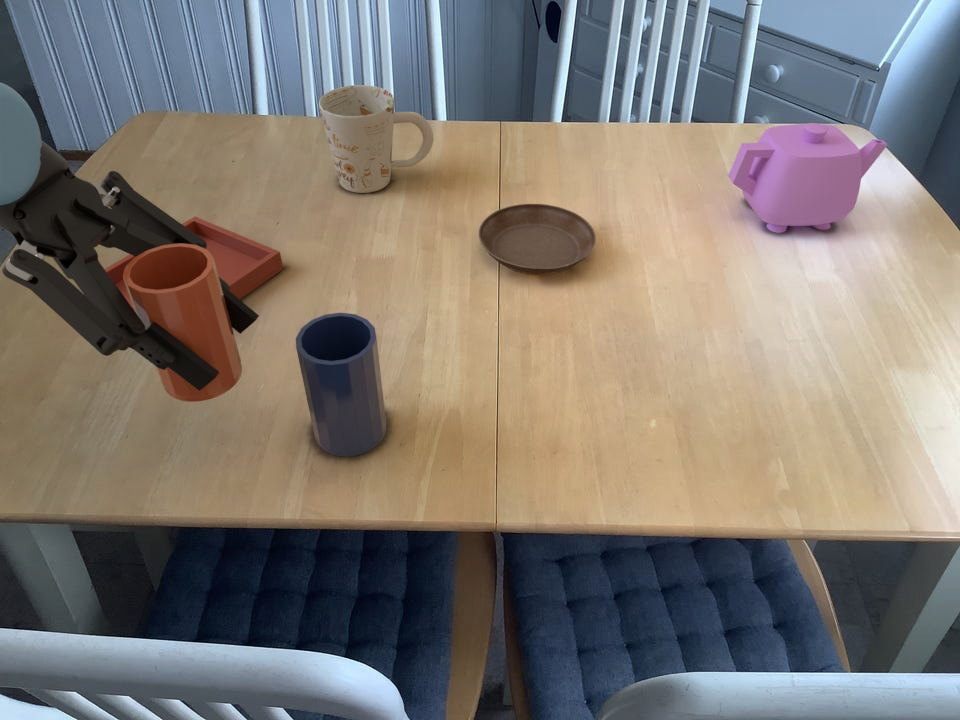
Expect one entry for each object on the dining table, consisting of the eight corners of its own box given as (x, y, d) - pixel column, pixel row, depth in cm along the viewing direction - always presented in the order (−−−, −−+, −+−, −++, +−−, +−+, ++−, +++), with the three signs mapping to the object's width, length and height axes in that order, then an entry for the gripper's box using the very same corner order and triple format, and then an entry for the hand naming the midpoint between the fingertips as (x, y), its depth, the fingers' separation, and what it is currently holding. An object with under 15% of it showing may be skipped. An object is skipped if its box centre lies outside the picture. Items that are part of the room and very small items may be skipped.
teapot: (737, 243, 101) (761, 154, 93) (706, 194, 110) (725, 109, 102) (882, 233, 103) (919, 145, 95) (839, 186, 112) (869, 101, 104)
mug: (328, 167, 116) (317, 87, 108) (429, 158, 118) (426, 79, 110) (331, 201, 109) (320, 119, 101) (439, 191, 111) (437, 110, 103)
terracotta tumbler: (200, 412, 68) (163, 303, 60) (146, 382, 70) (104, 274, 62) (258, 367, 72) (231, 259, 64) (205, 341, 75) (173, 234, 67)
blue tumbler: (355, 467, 73) (340, 375, 65) (300, 437, 76) (279, 345, 68) (400, 422, 78) (391, 329, 69) (346, 395, 80) (331, 303, 72)
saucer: (608, 235, 103) (611, 218, 101) (570, 298, 93) (572, 279, 91) (506, 210, 107) (506, 193, 105) (459, 267, 97) (458, 249, 95)
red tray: (176, 344, 86) (170, 326, 84) (90, 299, 92) (82, 281, 90) (283, 269, 97) (280, 251, 95) (199, 233, 103) (194, 216, 101)
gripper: (54, 135, 70) (256, 304, 78) (-120, 258, 55) (151, 450, 63) (88, 82, 65) (298, 267, 73) (-92, 201, 51) (195, 415, 59)
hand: (230, 351), depth 68 cm, fingers closed on terracotta tumbler, 7 cm apart
